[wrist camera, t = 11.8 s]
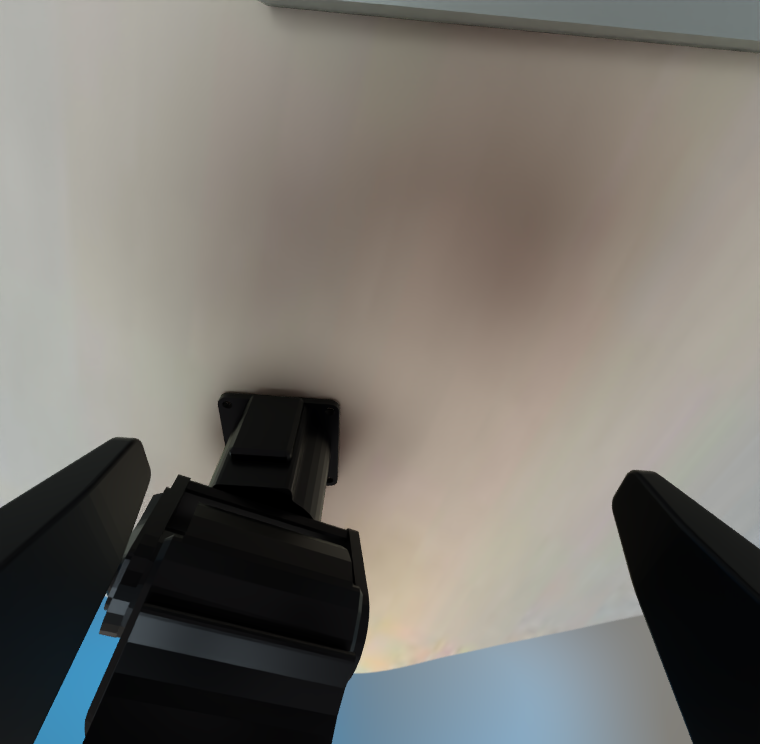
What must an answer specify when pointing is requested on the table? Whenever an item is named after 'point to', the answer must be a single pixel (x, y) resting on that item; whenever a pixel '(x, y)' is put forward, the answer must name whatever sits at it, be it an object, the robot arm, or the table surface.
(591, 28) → the caddy
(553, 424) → the table surface
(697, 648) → the robot arm
